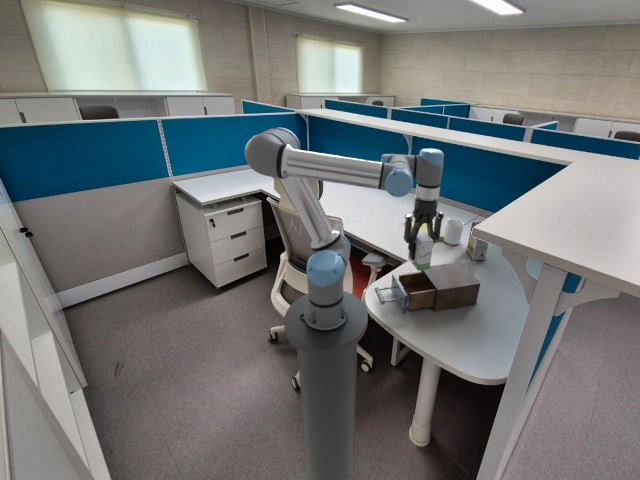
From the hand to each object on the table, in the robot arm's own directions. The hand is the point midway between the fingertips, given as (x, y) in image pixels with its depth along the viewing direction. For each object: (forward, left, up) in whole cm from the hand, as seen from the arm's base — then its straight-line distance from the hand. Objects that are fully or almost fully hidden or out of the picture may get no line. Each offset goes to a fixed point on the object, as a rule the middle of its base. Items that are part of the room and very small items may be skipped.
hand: (419, 257), depth 108 cm
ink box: (0, 0, -3) cm, 3 cm away
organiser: (+14, 0, -20) cm, 24 cm away
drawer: (-3, 0, -19) cm, 19 cm away
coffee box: (+43, +24, -20) cm, 53 cm away
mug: (+38, +40, -20) cm, 59 cm away
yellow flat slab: (+28, +53, -20) cm, 63 cm away
